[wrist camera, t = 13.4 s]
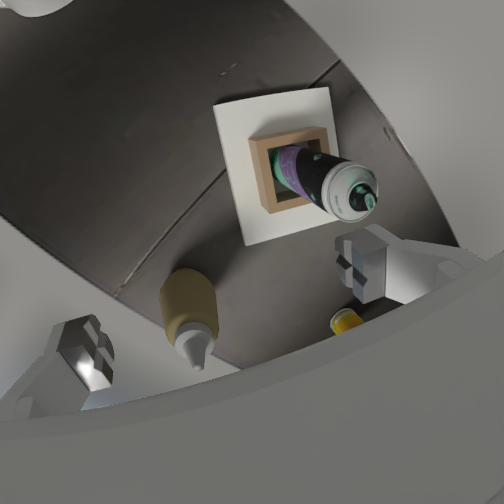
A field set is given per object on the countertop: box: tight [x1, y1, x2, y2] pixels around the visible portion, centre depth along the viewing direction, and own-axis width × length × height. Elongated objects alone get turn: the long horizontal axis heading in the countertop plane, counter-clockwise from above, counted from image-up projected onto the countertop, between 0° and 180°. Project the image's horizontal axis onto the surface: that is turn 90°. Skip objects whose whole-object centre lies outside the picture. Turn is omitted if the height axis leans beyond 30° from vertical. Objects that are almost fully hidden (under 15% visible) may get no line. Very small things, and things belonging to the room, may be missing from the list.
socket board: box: [213, 87, 339, 246], centre depth 41 cm, size 20×16×6 cm
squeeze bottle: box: [159, 268, 219, 371], centre depth 40 cm, size 8×8×18 cm
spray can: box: [269, 144, 378, 223], centre depth 34 cm, size 6×6×20 cm
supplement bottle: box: [331, 308, 364, 335], centre depth 54 cm, size 5×5×10 cm
